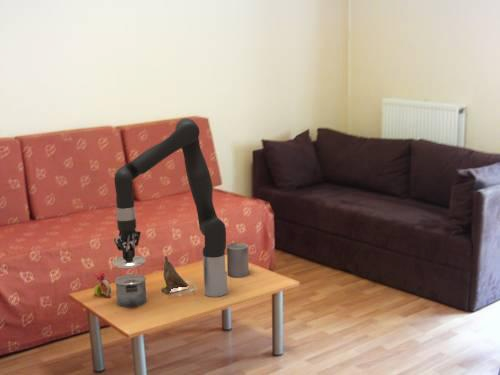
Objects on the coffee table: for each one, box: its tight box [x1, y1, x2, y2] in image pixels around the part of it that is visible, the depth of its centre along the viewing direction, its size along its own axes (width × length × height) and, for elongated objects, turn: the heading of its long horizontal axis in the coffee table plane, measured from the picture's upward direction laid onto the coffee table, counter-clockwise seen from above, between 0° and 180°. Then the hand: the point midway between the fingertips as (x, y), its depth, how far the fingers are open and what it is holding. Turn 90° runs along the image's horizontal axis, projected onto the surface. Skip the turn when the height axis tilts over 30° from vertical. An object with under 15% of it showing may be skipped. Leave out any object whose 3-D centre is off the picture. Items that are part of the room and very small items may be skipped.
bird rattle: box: [93, 270, 112, 298], centre depth 301 cm, size 6×11×9 cm
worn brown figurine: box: [161, 255, 189, 295], centre depth 304 cm, size 12×6×18 cm, turn 122°
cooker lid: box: [112, 248, 146, 269], centre depth 290 cm, size 13×13×6 cm
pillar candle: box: [226, 242, 250, 279], centre depth 322 cm, size 10×10×15 cm
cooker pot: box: [114, 273, 148, 308], centre depth 293 cm, size 18×13×10 cm
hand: (129, 258), depth 290 cm, fingers closed on cooker lid, 3 cm apart
